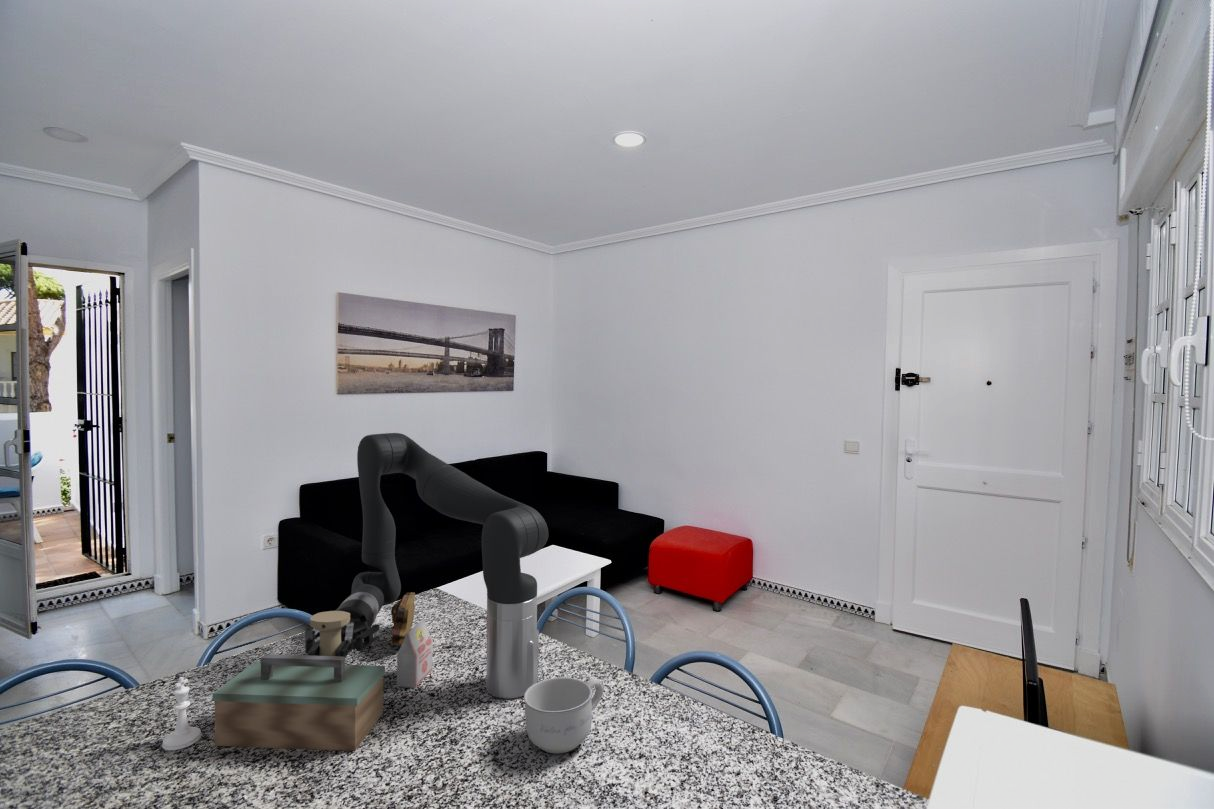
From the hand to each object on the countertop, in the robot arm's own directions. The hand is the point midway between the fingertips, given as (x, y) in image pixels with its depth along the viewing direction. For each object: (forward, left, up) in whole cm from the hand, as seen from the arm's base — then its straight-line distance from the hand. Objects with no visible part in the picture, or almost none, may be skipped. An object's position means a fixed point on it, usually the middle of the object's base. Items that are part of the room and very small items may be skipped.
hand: (325, 657), depth 97 cm
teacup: (-43, +6, -9) cm, 44 cm away
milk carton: (-12, -11, -9) cm, 19 cm away
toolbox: (0, +2, -9) cm, 9 cm away
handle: (0, -3, -9) cm, 10 cm away
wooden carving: (-3, -26, -9) cm, 28 cm away
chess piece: (+17, +10, -9) cm, 22 cm away
